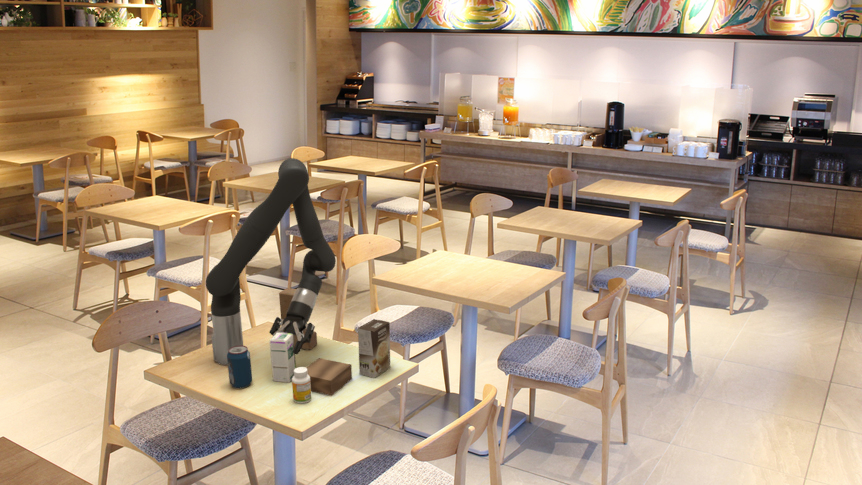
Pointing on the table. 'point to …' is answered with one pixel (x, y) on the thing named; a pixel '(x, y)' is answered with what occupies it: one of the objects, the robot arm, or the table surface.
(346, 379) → the walnut block
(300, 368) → the supplement bottle
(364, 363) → the coffee box
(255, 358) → the table surface
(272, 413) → the table surface
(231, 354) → the soda can
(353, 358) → the table surface
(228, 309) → the robot arm
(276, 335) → the syrup box
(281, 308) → the decorative block
